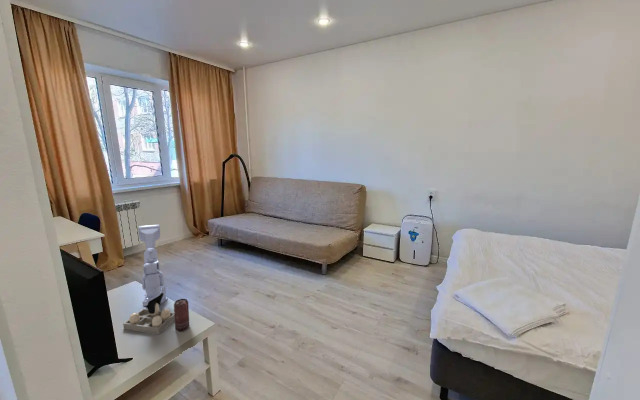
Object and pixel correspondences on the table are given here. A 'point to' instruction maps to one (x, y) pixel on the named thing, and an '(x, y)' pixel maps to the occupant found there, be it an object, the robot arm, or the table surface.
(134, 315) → the egg
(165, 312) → the egg
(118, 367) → the table surface
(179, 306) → the can
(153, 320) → the egg
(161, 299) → the robot arm
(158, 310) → the egg
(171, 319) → the carton
